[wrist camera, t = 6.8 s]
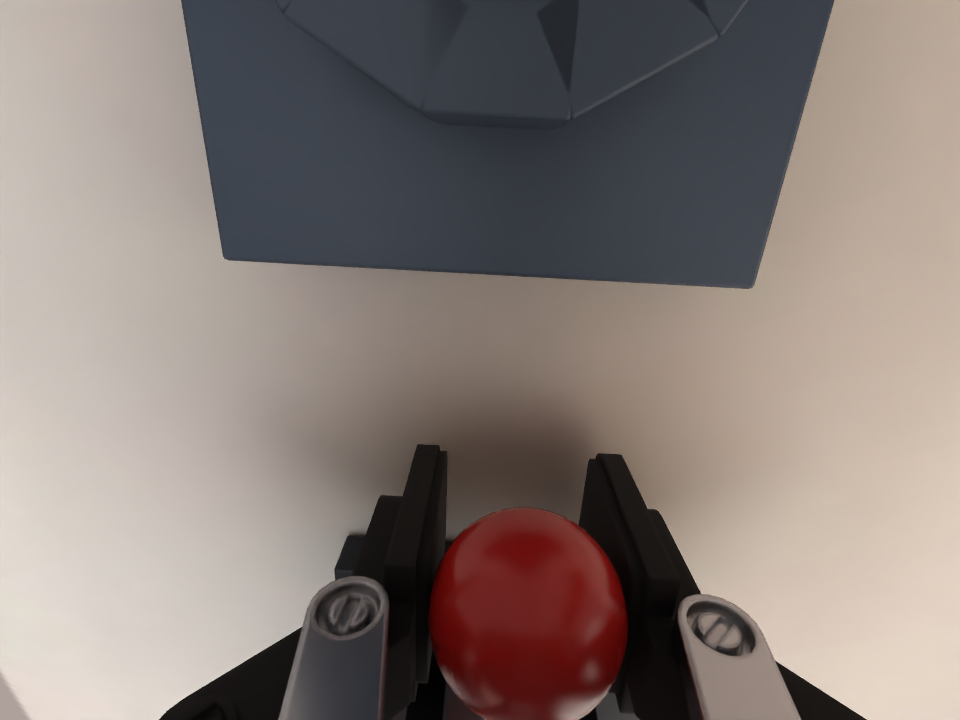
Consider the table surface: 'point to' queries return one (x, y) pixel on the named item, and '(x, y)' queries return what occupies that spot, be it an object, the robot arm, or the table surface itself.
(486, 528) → the switch lever
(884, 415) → the table surface
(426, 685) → the switch bracket
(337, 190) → the button box
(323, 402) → the table surface
